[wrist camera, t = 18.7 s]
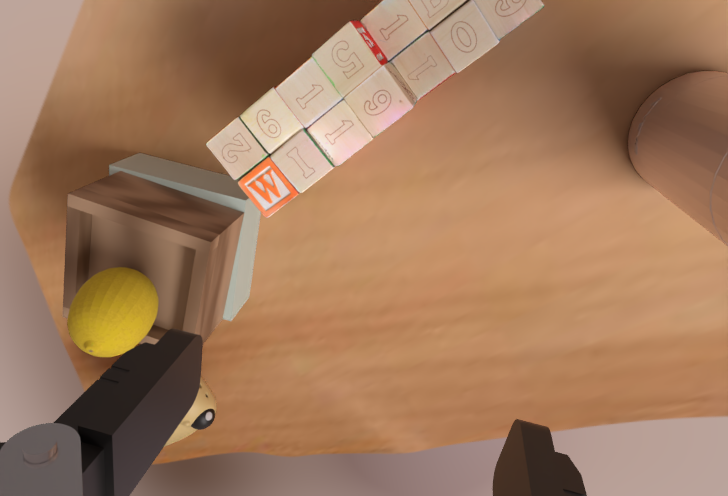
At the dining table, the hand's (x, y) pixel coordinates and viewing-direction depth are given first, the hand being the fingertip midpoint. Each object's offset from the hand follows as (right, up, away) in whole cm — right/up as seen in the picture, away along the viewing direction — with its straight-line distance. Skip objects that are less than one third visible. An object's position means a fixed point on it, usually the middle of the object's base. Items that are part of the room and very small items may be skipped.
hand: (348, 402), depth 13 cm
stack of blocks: (+2, +18, +28) cm, 34 cm away
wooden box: (-16, +4, +32) cm, 36 cm away
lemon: (-17, +2, +28) cm, 33 cm away
